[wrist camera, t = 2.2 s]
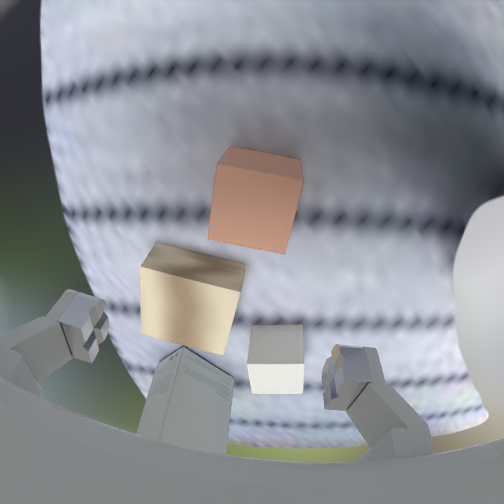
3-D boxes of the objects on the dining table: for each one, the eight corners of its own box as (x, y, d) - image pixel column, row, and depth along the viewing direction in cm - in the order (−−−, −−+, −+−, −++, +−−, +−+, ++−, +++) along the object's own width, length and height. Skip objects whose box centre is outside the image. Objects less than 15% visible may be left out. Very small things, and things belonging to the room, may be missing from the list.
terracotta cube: (299, 159, 21) (303, 180, 17) (284, 220, 24) (284, 254, 20) (230, 146, 21) (216, 164, 17) (221, 207, 24) (207, 239, 20)
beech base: (246, 262, 27) (240, 292, 23) (229, 325, 31) (223, 355, 27) (157, 240, 26) (140, 266, 23) (154, 306, 31) (141, 333, 27)
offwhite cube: (302, 323, 30) (304, 363, 25) (301, 355, 32) (302, 393, 28) (252, 324, 30) (246, 363, 26) (256, 356, 33) (252, 393, 28)
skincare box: (158, 361, 35) (120, 467, 23) (185, 342, 33) (148, 464, 20) (209, 393, 38) (187, 494, 25) (240, 379, 35) (222, 492, 23)
